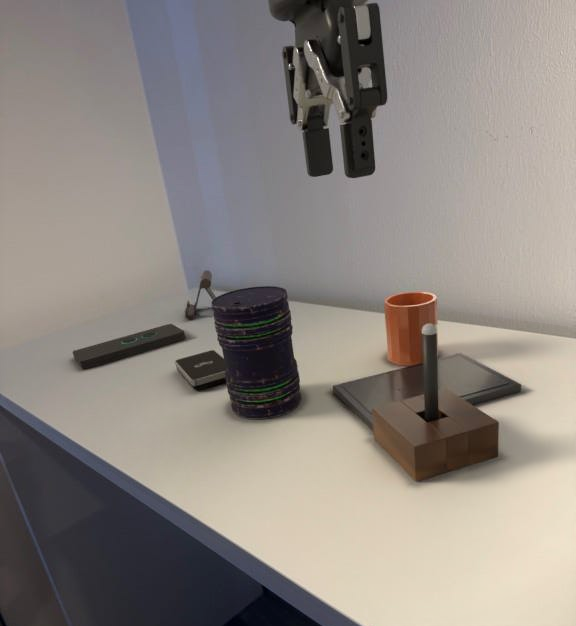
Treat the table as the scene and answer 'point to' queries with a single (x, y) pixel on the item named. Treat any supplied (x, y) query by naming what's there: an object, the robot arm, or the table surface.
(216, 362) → the external hard drive
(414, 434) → the pen stand
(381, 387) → the tablet
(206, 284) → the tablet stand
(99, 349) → the smart home device
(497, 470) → the table surface
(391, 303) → the pen cup
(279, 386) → the storage jar
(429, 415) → the stylus
